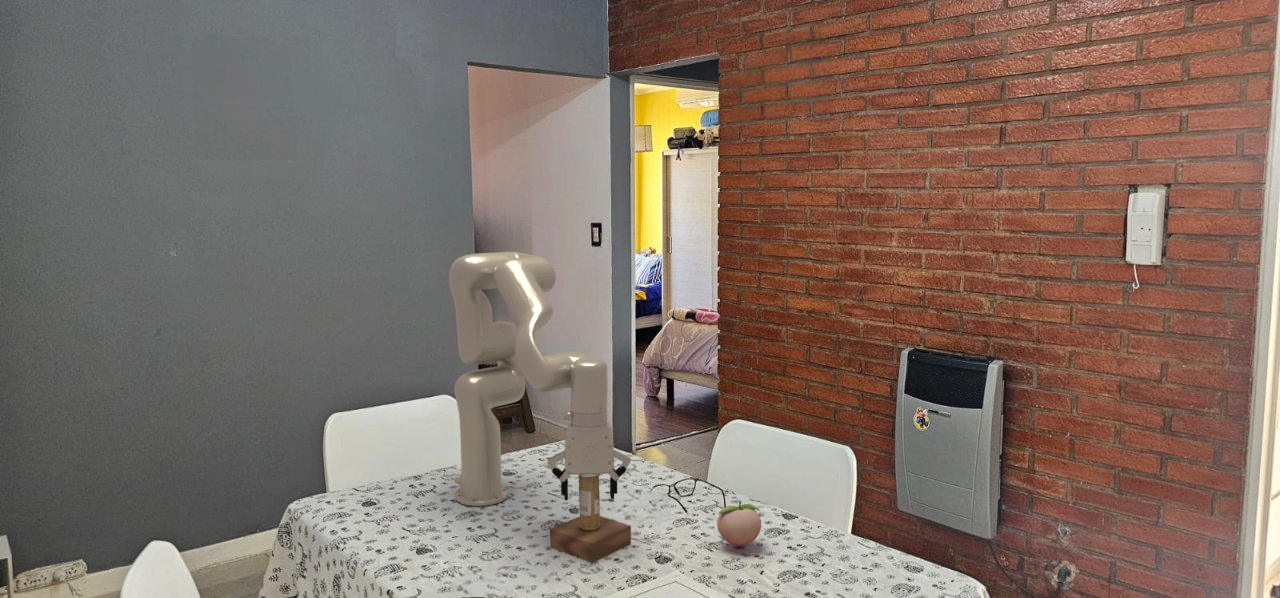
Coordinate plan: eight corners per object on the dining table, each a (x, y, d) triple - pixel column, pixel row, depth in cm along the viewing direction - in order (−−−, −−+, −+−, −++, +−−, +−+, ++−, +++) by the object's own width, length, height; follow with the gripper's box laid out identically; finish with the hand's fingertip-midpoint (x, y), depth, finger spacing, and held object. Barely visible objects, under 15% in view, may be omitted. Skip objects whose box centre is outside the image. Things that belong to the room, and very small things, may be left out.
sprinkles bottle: (604, 528, 177) (603, 465, 176) (585, 532, 175) (584, 469, 173) (593, 521, 181) (592, 460, 180) (574, 526, 179) (573, 464, 177)
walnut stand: (550, 547, 178) (550, 528, 177) (589, 529, 187) (589, 512, 186) (592, 562, 170) (592, 543, 170) (630, 543, 179) (630, 525, 179)
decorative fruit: (732, 559, 171) (733, 512, 170) (710, 545, 179) (711, 499, 177) (770, 550, 176) (771, 504, 174) (747, 536, 183) (748, 492, 182)
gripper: (546, 424, 171) (547, 505, 173) (632, 422, 172) (631, 503, 175) (547, 414, 178) (547, 492, 180) (629, 412, 180) (628, 490, 182)
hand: (589, 497), depth 177 cm, fingers open, 9 cm apart
